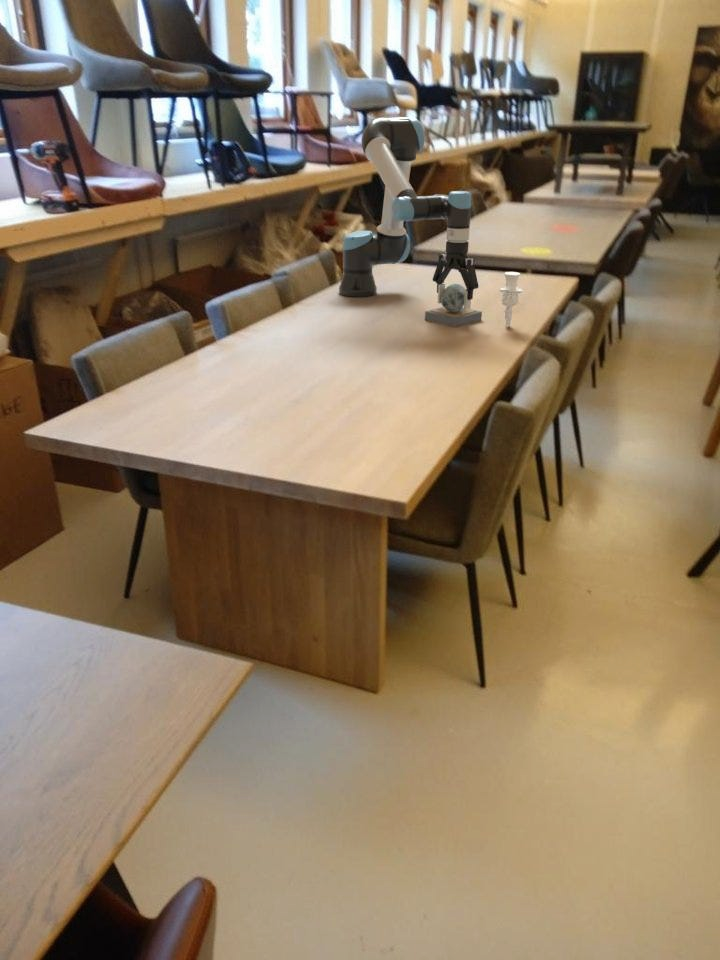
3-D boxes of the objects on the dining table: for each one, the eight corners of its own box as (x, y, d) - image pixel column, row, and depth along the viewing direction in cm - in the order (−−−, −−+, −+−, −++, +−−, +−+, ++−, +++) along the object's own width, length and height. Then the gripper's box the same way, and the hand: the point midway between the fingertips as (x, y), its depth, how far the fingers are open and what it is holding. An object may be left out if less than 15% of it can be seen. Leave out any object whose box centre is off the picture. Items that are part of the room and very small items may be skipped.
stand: (424, 319, 263) (425, 310, 261) (450, 313, 272) (451, 303, 270) (455, 327, 254) (456, 317, 252) (481, 320, 263) (481, 310, 261)
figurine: (498, 322, 260) (503, 269, 252) (520, 324, 257) (526, 271, 249) (493, 330, 251) (498, 275, 243) (516, 332, 249) (521, 277, 241)
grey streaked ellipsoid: (469, 305, 252) (458, 277, 251) (443, 317, 255) (432, 289, 254) (475, 306, 264) (465, 279, 264) (450, 317, 268) (440, 290, 267)
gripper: (423, 237, 256) (421, 301, 266) (478, 246, 241) (473, 313, 251) (438, 235, 261) (435, 298, 270) (492, 243, 245) (487, 309, 255)
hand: (453, 305), depth 261 cm, fingers closed on grey streaked ellipsoid, 11 cm apart
